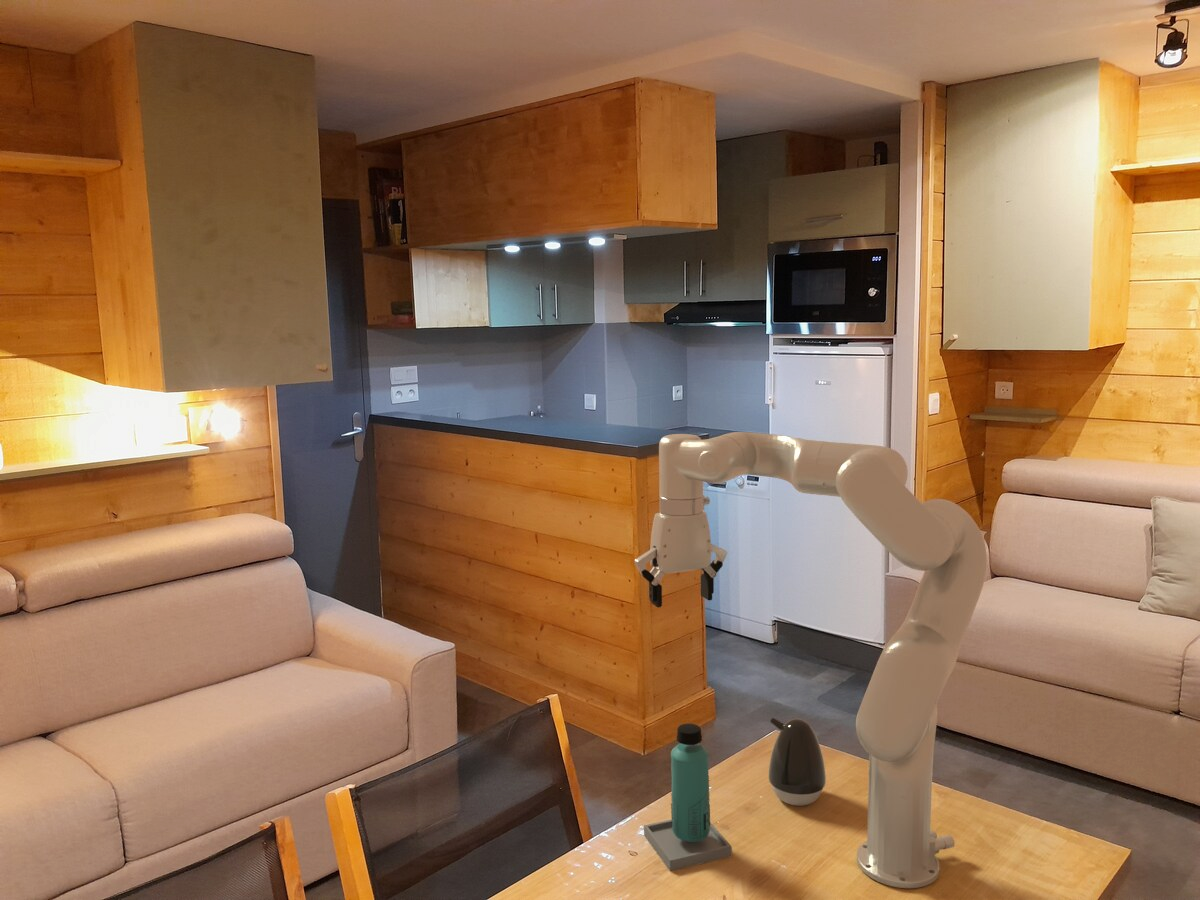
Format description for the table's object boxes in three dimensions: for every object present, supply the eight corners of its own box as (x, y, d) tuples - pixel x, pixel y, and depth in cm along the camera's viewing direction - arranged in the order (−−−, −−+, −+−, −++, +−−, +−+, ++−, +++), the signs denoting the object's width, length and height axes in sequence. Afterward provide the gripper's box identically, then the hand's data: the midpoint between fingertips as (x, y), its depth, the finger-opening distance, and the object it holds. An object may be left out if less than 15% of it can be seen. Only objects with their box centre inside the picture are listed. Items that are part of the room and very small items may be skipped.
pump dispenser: (781, 778, 177) (782, 703, 175) (833, 794, 171) (835, 716, 169) (757, 802, 169) (758, 723, 166) (811, 819, 163) (812, 737, 160)
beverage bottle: (708, 852, 152) (708, 737, 148) (668, 848, 153) (666, 734, 150) (712, 830, 158) (711, 720, 155) (673, 827, 159) (672, 717, 156)
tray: (702, 822, 162) (702, 812, 162) (731, 856, 152) (731, 846, 152) (644, 835, 159) (643, 825, 159) (670, 870, 149) (669, 860, 148)
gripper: (715, 497, 166) (715, 589, 169) (626, 506, 160) (627, 601, 163) (736, 505, 159) (735, 601, 162) (643, 515, 153) (644, 614, 156)
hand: (681, 601), depth 162 cm, fingers open, 9 cm apart
